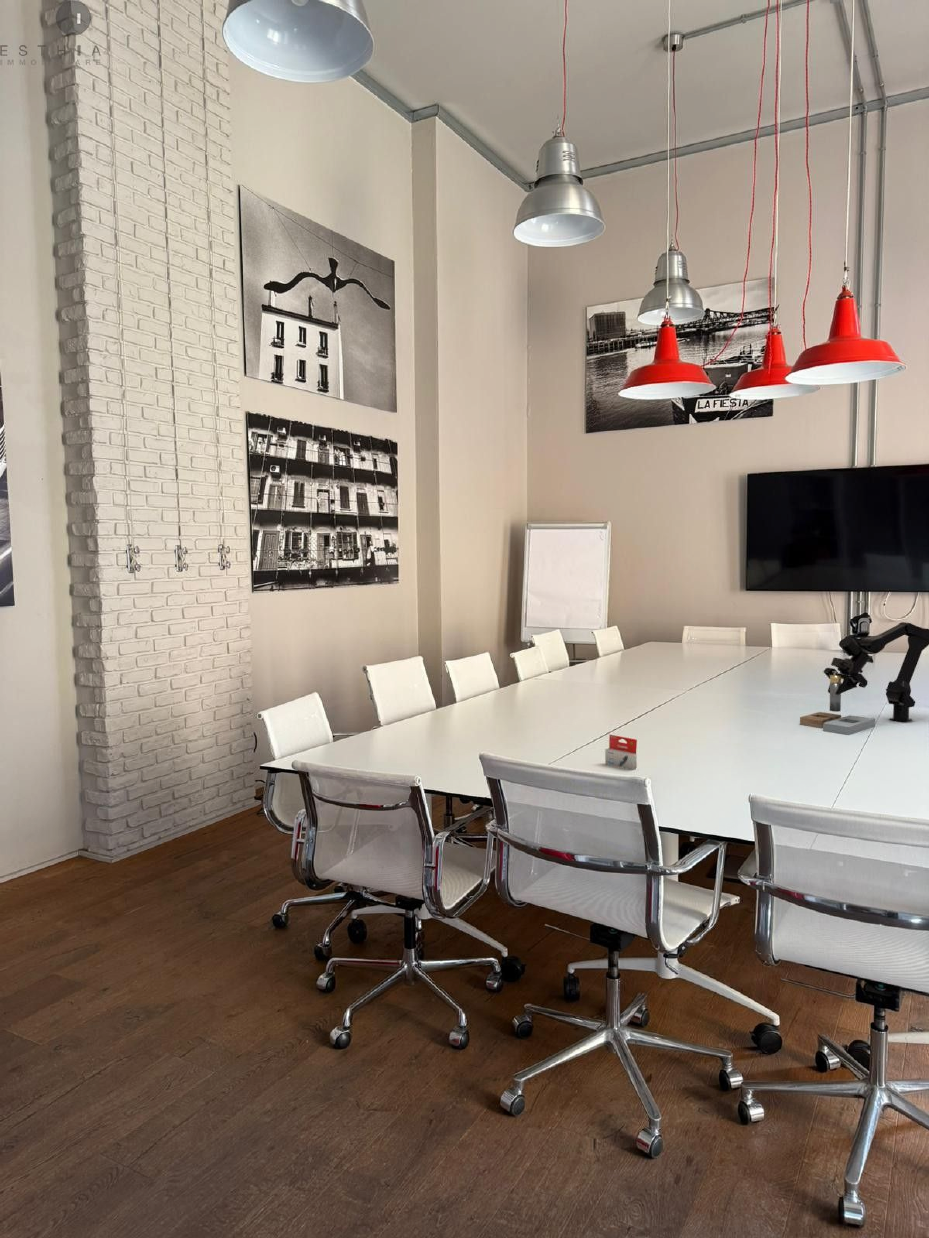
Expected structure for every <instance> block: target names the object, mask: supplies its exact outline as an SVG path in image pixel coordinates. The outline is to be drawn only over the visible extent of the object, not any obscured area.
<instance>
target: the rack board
mask: <svg viewBox="0 0 929 1238" xmlns="http://www.w3.org/2000/svg"><path fill="white" fill-rule="evenodd" d="M875 726H876V719H875V718H870V717H865V716H858V715H851V714H850V715H846V716H841V718H839V719H835V720H832V721H828V722H825V723H823V728H822V731H823V732H829V733H835V734H841V735H847V736H850V735H853V734H856V733H858V732H862V731H865V730H868V729H872V728H874V727H875Z"/></svg>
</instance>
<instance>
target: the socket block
mask: <svg viewBox="0 0 929 1238" xmlns="http://www.w3.org/2000/svg"><path fill="white" fill-rule="evenodd" d="M839 718H842V714H836V713H830V712H829V713H828V712H825V711H824V712H823V711H818V712H813V713H812V714H811V713H810V714H807V715H803V716H799V725H801V726H806V727H812V728H818V729H823V723H825V722H828V721H832V720H835V719H839Z"/></svg>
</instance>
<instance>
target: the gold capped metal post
mask: <svg viewBox="0 0 929 1238" xmlns="http://www.w3.org/2000/svg"><path fill="white" fill-rule="evenodd" d="M841 683H842V679H841V676H840V675H830V679H829V685H830V693H829V711H830V712H835V713H836V712H838V713H839V712H841V710H842V705H841V704H842V693H841V694H839V695H837V694H836V691H837V690H838V688H839V687H840V685H841Z"/></svg>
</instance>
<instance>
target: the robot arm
mask: <svg viewBox="0 0 929 1238" xmlns="http://www.w3.org/2000/svg"><path fill="white" fill-rule="evenodd" d="M903 636H906V637H907V644H908V649H907V651H906V654H905V656H904V659H903V661H902V664H901V667H900V669H899V671H898V675H897V677H896V679H895V680H894V681H891V680H890V681H889V682H888V684H887V687H886V688H885V691H886V692H885V696H886V698H887V702H888V704H889V705H893V707H892V708H893V709H892V713H893V714H892V717H890V718H889V720H890V721H896V722H902V723H907V722H910V721H913V718H910V708H912V707H913V708H914V707H915V705H916V700H915V699H914V698H913V697H912V696H911V691H912V688H911V684H910V683H911V681H912V679H913V675H914V672H915V669H916V667H917V665H918V663H919V660H920V658H921V654H922V652H923V651H924V650H925V649H926V648H927V647H929V628H924V627H920V626H917V625H915V624H913V623H912V622H907V621H906V622H904V621H903V622H902V621H901V622H899V623H898V624H896V625H894V626H893V627H890V628H889V629H887V630H885V631H883V632H882V633H879V634H877V635H871V636H867V637H864V638H863V637H862V639H861V640H860V641H859V640H858V639H857V637H856V636H855V635H853V634H849V635H848V636H846V637H844V638H842V639H840V641H839V642H838V646H839V647H840V648H841V649H842V651H843V652H844V653H845V654H846V655H847V656H848V657H850V658H844V659H843V658H839V657H833V658H832V661H831V664H830V665H831V666H833V667H835V668H833V667H826V668H825V669H824V670H823V671H822V672H823V673H824V675H825V676H827V677H826V678H828V679H829V680H830V675H840V676H841V680H842V681H841V685H840V687H839V688H838V690H837V691H836V694H837V695H839V694H841V695H842V694H843V693H846V692H847V691H850V690H853V689H856V688H858V687H860V688H864V689H865V688H866V687H867V685H868V680H867V679H866V678H865V676H864V675H863V674H862V673H863V672H864V670H863V668H864V667H865V665H866V664H867V663H870V664H874V658H873V656H872V655H870V654H874V655H876V654H879V653H880V652H881V651H883V650H884V649H885V647H886V646H887V645H888V644H889V643H891V642H894V641H895V640H898V639H900V638H901V637H903ZM827 692H828V694H830V684H829V686H828V689H827Z"/></svg>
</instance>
